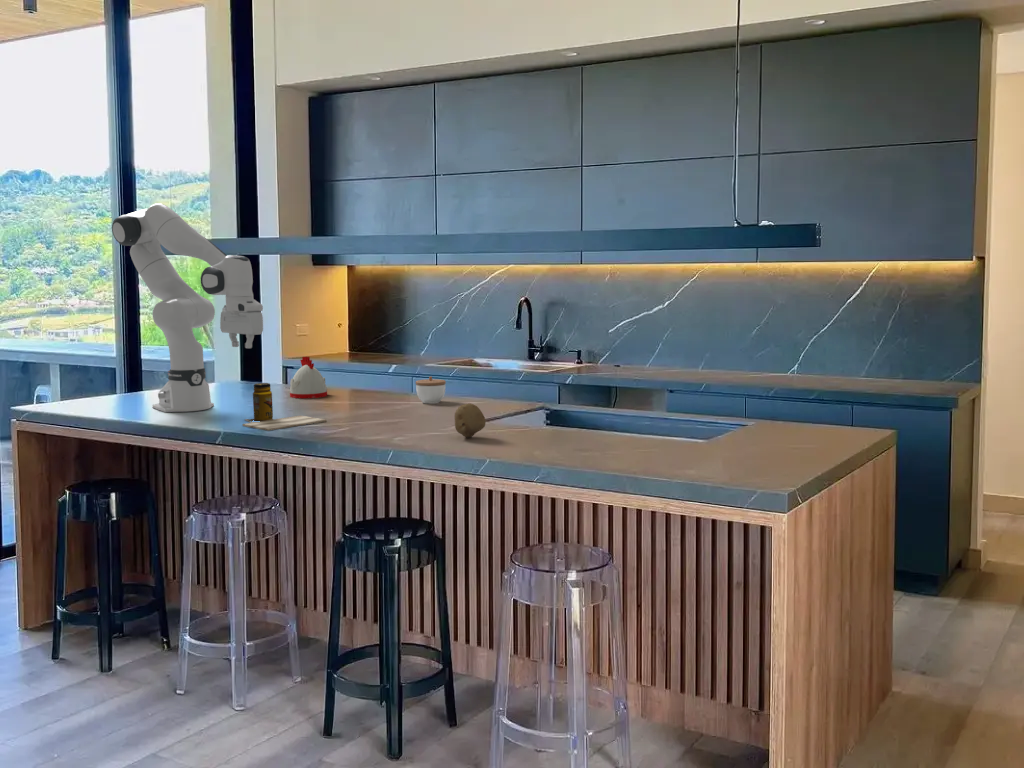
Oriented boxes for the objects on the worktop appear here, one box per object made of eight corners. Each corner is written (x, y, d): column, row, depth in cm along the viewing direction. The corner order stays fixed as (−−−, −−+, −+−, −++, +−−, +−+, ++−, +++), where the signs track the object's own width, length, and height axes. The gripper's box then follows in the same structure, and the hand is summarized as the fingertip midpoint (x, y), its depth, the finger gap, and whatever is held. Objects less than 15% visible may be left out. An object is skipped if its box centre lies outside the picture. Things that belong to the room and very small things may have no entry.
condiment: (277, 420, 338) (275, 383, 336) (252, 423, 333) (250, 386, 332) (269, 417, 344) (267, 381, 343) (244, 420, 339) (242, 383, 338)
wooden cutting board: (242, 425, 328) (242, 424, 328) (300, 417, 344) (300, 415, 344) (268, 430, 319) (267, 428, 318) (326, 421, 334) (326, 419, 334)
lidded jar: (449, 400, 378) (448, 374, 377) (442, 404, 368) (441, 378, 367) (420, 400, 380) (419, 374, 379) (412, 404, 370) (412, 378, 369)
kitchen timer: (314, 392, 405) (313, 354, 404) (334, 395, 395) (332, 356, 393) (283, 396, 396) (281, 356, 394) (302, 399, 386) (300, 359, 384)
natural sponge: (489, 435, 306) (488, 401, 304) (481, 440, 297) (480, 406, 296) (459, 434, 308) (458, 401, 306) (450, 439, 299) (449, 405, 298)
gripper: (214, 304, 345) (216, 346, 347) (248, 306, 331) (250, 349, 333) (231, 304, 349) (233, 345, 351) (265, 305, 336) (267, 348, 337)
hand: (242, 347), depth 342 cm, fingers open, 6 cm apart
